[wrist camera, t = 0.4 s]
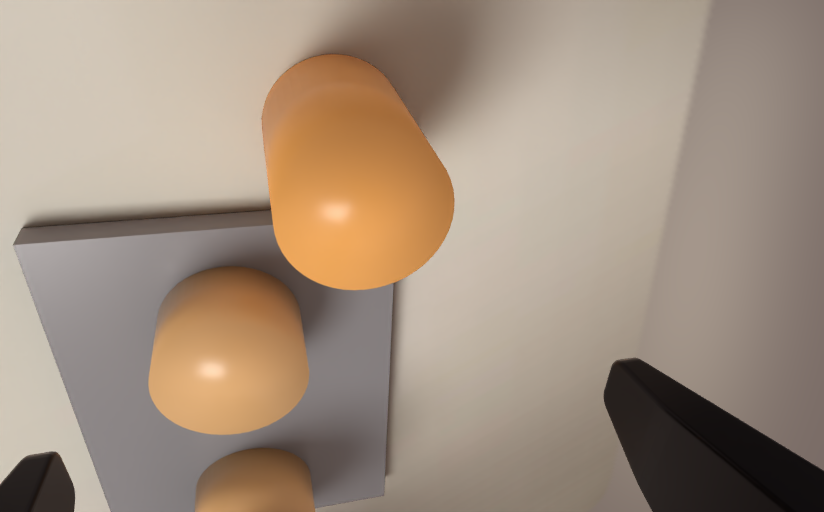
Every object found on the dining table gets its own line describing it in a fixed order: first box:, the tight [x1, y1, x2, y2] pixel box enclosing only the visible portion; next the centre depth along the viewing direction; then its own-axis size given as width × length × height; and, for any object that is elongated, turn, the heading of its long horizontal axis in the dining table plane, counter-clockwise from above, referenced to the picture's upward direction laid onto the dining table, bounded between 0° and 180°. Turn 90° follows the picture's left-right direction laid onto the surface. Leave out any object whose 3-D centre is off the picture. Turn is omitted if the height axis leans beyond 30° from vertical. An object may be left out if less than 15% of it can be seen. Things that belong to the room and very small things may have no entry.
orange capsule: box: [262, 54, 454, 290], centre depth 18 cm, size 5×5×6 cm
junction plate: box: [13, 210, 393, 512], centre depth 22 cm, size 16×12×8 cm
